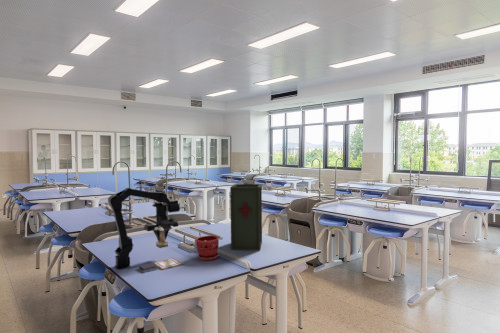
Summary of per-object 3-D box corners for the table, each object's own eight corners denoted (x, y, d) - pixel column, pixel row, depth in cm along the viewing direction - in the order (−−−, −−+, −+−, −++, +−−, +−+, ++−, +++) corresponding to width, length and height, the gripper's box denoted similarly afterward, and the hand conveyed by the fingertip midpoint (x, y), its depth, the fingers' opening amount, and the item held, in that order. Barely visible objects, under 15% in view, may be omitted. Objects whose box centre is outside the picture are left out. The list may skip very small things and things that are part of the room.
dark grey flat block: (143, 272, 169) (142, 269, 169) (138, 269, 174) (137, 265, 174) (157, 269, 174) (157, 265, 174) (152, 265, 180) (152, 262, 179)
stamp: (159, 248, 187) (159, 232, 187) (156, 246, 191) (155, 231, 191) (167, 246, 190) (167, 231, 190) (164, 244, 194) (163, 229, 194)
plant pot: (215, 253, 200) (215, 234, 200) (221, 260, 188) (221, 239, 188) (194, 256, 196) (193, 236, 195) (198, 263, 184) (198, 241, 183)
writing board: (161, 270, 173) (161, 269, 173) (151, 263, 183) (151, 262, 183) (183, 264, 181) (183, 263, 181) (173, 258, 191) (173, 257, 191)
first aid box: (261, 242, 224) (261, 184, 222) (260, 250, 206) (259, 187, 204) (235, 241, 226) (234, 184, 224) (231, 249, 208) (230, 187, 206)
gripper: (151, 217, 178) (152, 246, 178) (182, 213, 190) (183, 240, 190) (143, 215, 186) (144, 242, 187) (173, 210, 198) (174, 236, 199)
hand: (161, 240), depth 191 cm, fingers closed on stamp, 4 cm apart
